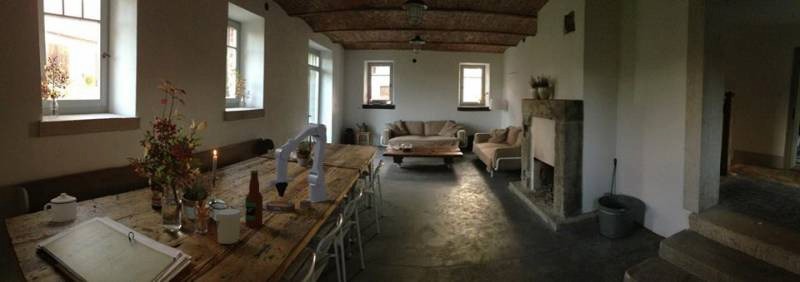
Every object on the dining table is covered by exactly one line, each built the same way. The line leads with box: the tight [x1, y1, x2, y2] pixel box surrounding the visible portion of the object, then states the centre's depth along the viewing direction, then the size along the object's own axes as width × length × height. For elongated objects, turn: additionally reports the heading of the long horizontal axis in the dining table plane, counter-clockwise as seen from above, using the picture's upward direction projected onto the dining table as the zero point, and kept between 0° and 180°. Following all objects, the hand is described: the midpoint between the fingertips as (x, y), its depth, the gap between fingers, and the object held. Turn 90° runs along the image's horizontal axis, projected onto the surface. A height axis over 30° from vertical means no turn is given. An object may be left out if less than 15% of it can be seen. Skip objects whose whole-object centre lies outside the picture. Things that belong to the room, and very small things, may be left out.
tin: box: [265, 200, 296, 212], centre depth 218 cm, size 15×3×8 cm
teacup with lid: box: [43, 192, 78, 223], centre depth 186 cm, size 12×9×12 cm
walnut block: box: [299, 199, 312, 211], centre depth 223 cm, size 4×4×4 cm
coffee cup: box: [215, 208, 242, 245], centre depth 170 cm, size 9×9×12 cm
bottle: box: [244, 169, 264, 228], centre depth 190 cm, size 7×7×25 cm
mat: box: [263, 204, 291, 215], centre depth 219 cm, size 8×18×1 cm, turn 50°
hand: (281, 196), depth 221 cm, fingers closed
